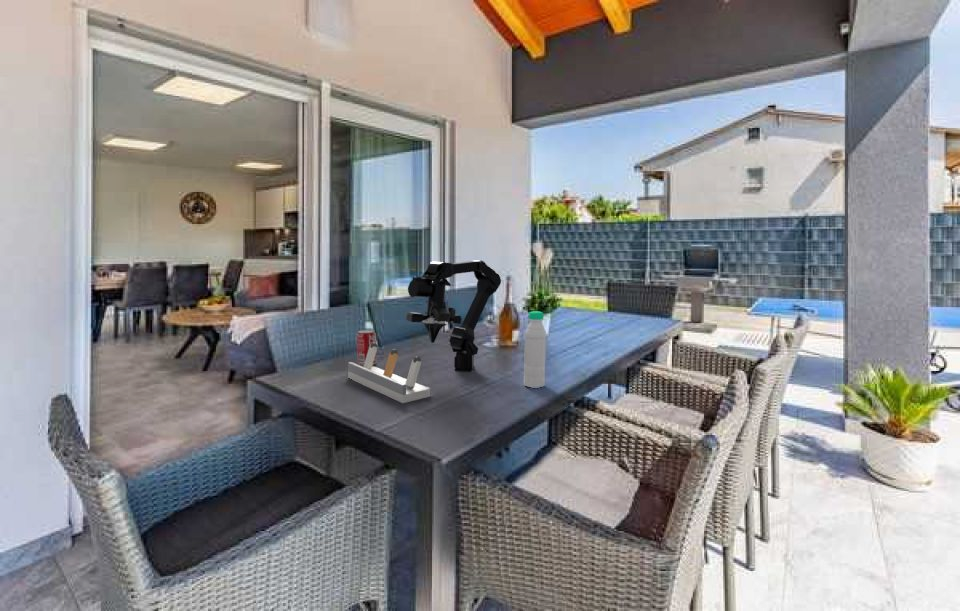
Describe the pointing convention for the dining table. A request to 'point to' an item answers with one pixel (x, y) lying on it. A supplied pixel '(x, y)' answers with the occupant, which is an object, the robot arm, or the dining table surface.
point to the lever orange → (391, 363)
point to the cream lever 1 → (370, 355)
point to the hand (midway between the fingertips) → (432, 342)
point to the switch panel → (386, 383)
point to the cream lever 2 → (413, 372)
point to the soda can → (364, 345)
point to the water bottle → (535, 351)
